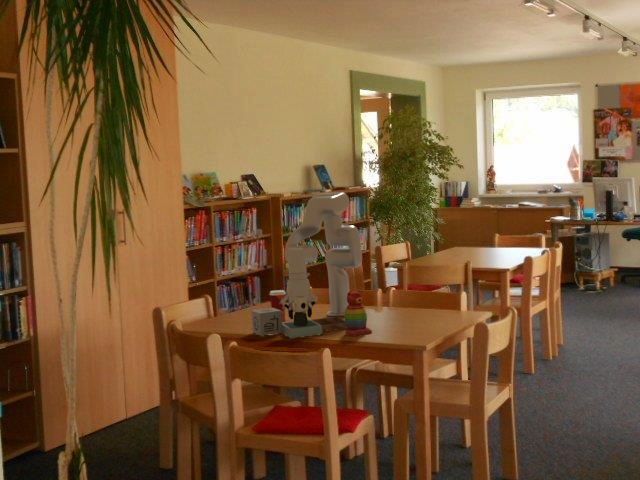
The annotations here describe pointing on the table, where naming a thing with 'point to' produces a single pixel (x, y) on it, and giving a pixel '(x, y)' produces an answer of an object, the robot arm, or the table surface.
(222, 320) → the table surface
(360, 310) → the stacking bear
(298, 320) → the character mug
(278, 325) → the icon cube
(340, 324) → the walnut corral
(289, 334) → the bin
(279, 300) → the paper cup
